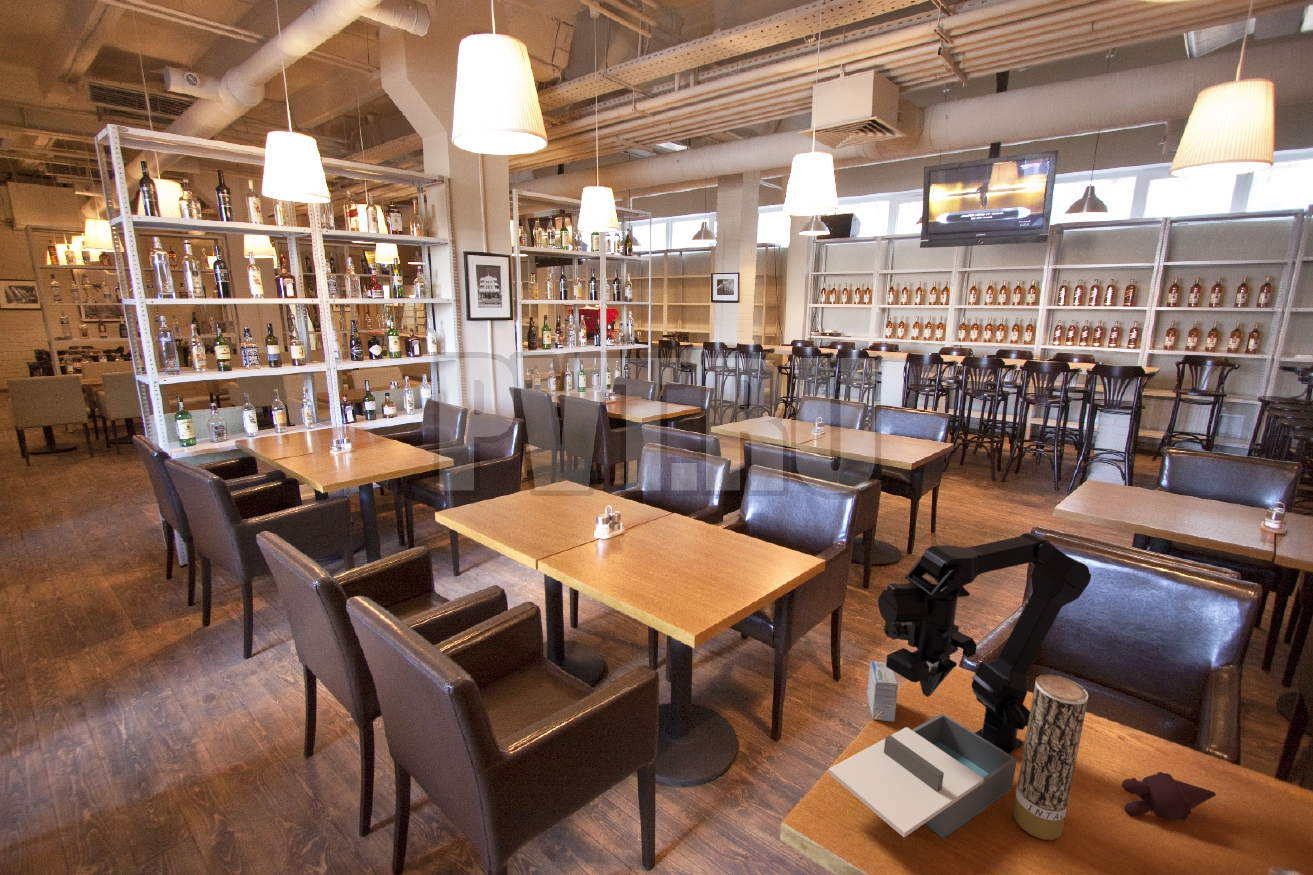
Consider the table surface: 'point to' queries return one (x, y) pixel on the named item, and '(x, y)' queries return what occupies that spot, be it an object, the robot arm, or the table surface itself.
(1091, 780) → the table surface
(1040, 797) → the paper tube
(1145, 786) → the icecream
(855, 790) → the lid
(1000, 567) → the robot arm
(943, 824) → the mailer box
